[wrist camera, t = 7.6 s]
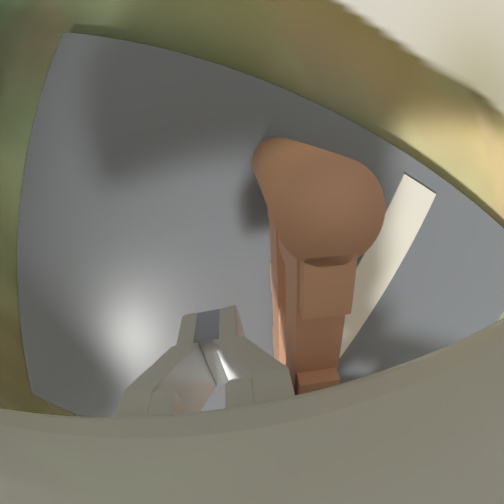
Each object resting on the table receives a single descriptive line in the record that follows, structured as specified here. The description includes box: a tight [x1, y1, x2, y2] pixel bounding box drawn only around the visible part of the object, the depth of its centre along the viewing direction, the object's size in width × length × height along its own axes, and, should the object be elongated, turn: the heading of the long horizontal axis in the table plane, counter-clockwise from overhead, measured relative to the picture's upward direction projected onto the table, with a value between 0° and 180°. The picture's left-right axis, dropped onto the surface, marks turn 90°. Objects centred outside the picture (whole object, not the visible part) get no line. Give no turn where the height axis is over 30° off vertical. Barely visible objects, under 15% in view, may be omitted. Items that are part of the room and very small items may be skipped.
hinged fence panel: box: [252, 137, 385, 395], centre depth 10 cm, size 13×2×6 cm, turn 4°
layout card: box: [17, 32, 504, 417], centre depth 15 cm, size 28×22×1 cm
